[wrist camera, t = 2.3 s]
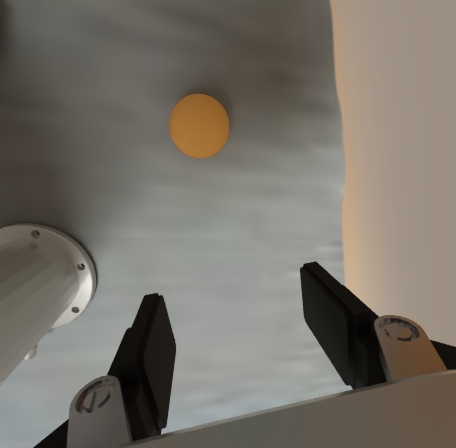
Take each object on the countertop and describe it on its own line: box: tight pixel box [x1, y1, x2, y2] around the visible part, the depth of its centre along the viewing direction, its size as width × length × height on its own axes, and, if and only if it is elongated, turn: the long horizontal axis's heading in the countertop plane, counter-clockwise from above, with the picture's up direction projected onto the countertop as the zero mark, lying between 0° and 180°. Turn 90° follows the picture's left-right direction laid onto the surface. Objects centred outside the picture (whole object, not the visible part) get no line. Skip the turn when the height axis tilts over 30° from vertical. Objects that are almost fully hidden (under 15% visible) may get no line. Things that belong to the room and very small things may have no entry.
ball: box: [169, 94, 230, 158], centre depth 23 cm, size 6×6×6 cm
